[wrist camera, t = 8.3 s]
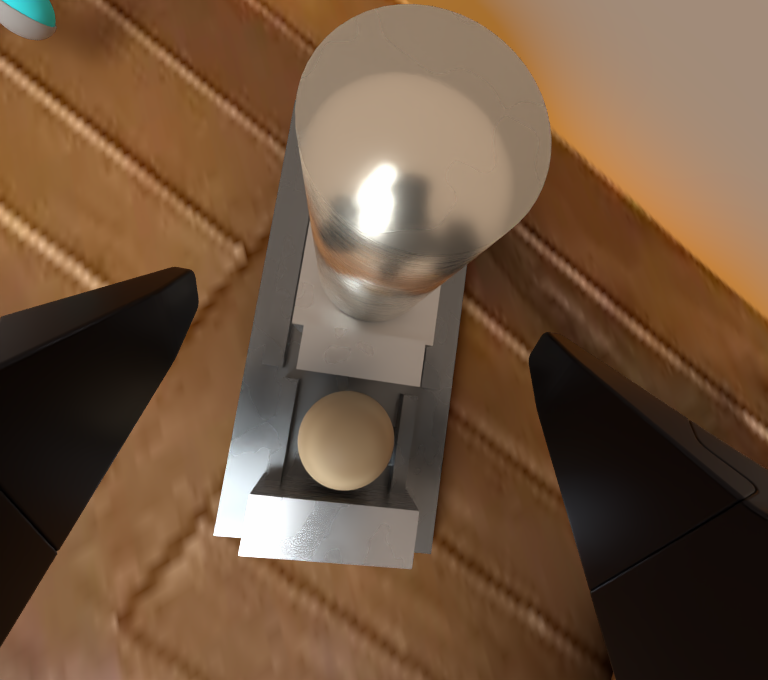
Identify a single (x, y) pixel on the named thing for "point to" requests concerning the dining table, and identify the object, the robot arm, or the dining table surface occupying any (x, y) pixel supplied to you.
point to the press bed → (293, 400)
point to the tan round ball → (345, 440)
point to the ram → (406, 179)
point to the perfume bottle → (28, 18)
